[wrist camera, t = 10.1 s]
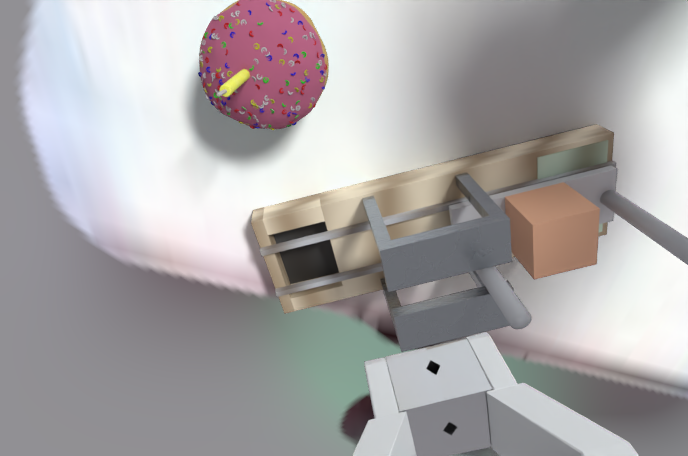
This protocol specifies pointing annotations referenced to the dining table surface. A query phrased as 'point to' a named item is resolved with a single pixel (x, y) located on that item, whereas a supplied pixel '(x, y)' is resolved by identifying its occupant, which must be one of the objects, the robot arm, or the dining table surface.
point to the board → (400, 213)
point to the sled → (562, 229)
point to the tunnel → (444, 270)
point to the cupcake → (263, 63)
